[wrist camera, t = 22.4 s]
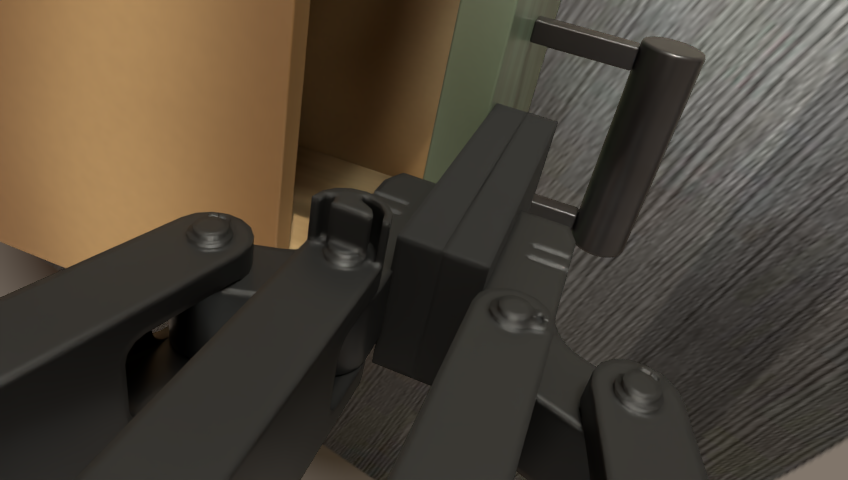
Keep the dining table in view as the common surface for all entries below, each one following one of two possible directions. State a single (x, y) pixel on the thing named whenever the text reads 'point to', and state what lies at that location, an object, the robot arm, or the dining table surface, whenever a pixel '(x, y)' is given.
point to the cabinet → (146, 118)
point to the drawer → (473, 100)
